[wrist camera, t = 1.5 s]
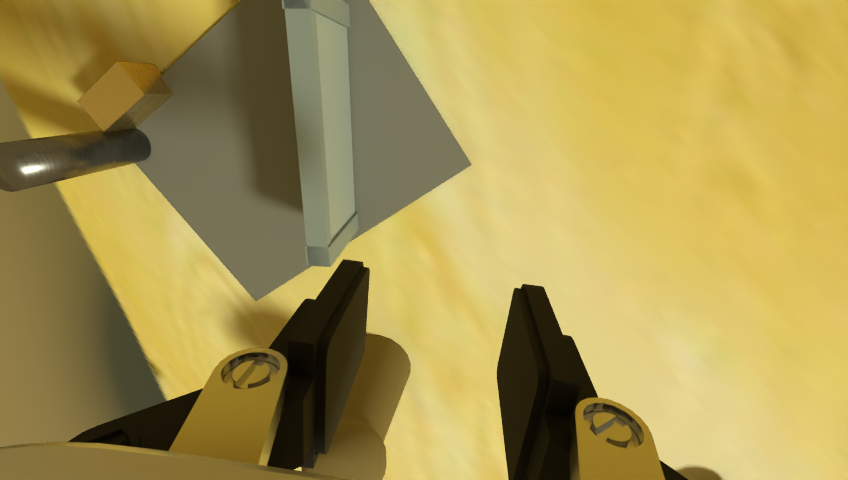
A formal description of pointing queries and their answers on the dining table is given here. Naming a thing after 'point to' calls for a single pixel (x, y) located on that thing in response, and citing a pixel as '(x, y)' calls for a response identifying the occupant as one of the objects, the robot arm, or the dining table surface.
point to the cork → (367, 414)
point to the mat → (286, 139)
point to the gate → (322, 123)
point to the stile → (98, 150)
